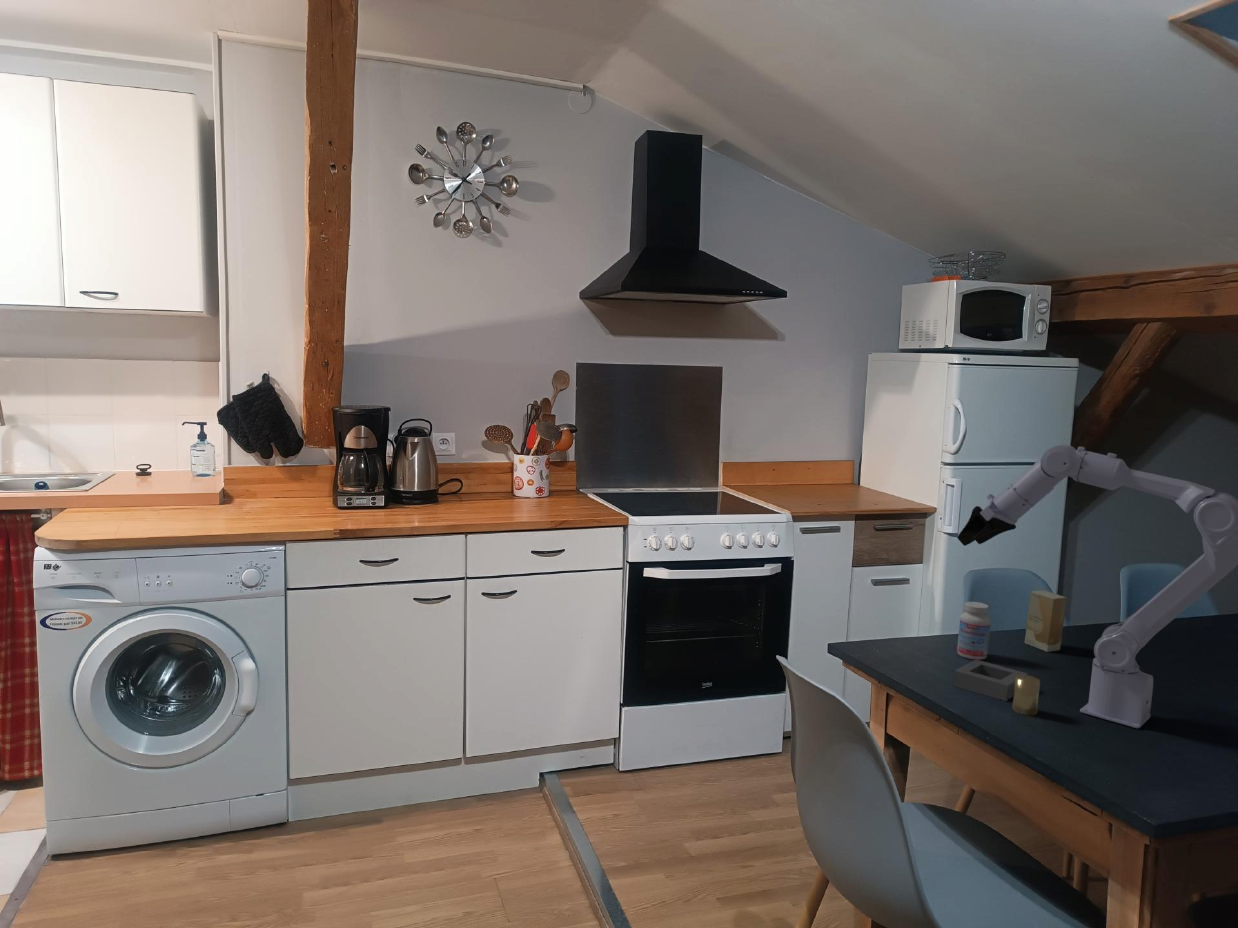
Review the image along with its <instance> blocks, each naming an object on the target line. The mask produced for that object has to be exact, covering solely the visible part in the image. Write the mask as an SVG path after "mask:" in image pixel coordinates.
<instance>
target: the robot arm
mask: <svg viewBox="0 0 1238 928" xmlns="http://www.w3.org/2000/svg"><path fill="white" fill-rule="evenodd" d="M1117 456H1118V455H1117V454H1116V453H1112V452H1108V453H1107V455H1105V454H1101V453H1099V452H1098V453H1097V452H1094V451H1089V450H1086V447H1084V446H1078V447H1077V449H1076V448H1075V447H1074V446H1073V445H1069V444H1059V445H1055V446H1051V447H1049V448H1048V449H1047V450H1046V451H1044V453H1043V454H1042V456H1041V458H1039V459H1038V460H1037V461H1035V462H1034V464H1033V465H1032V466H1029V467H1028V468H1026V469H1025V470H1024V471H1023V472H1022V473H1021V474H1020V475H1018V476H1017V477H1016V478H1015V479H1014V480H1013V481H1012V482H1010V483H1009V484H1008V485H1007V487H1005V488H1004V489H1003V490H1002V491H1001V492H1000V493H998V494H997V495H996V496H994V494H992V493H991V494H990V493H989V494H987V496H986V499H987V500H988V504H987V506H986V507H984V508H983V509H982V508H981V506H980V505H979V506H978V505H975V506H974V508H973V509H972V510H971V514H970V517H969V519H968V521H967V522H966V524H965V525H964V527H963V528H962V530H960V532H959V534H958V535H957V537H956V538H957V540H958V541H959V542H960V543H961V544H962V545H963V546H968V545H970V544H972V543H974V542H975V541H976V543H977V544H978V545H982V544H984V543H986V542H987V541H990V540H991V539H993V538H994V537H996V536H998V535H1000V534H1002V533H1005V532H1006V533H1007V532H1009V531H1013V530H1015V529H1016V528H1017V525H1016V523H1018V520H1019V519H1021V518H1022V517H1023V516H1024V515H1025V514H1027V512H1029V511H1030V510H1031V509H1032V508H1033V507H1034V506H1036V505H1037V504H1038V503H1039V502H1040V501H1041V500H1043V499H1044V498H1045V497H1046V496H1047V495H1049V494H1050V493H1051V492H1052V491H1053V490H1054V489H1055V487H1056V486H1057V485H1058V484H1059V483H1060V482H1062V481H1063V480H1064V479H1066V478H1068V477H1070V478H1071V479H1072V480H1074V481H1075V482H1079V483H1083V484H1086V485H1090V486H1093V487H1094V486H1095V487H1098V488H1101V489H1105V490H1110V491H1114V490H1115V491H1116V490H1117V489H1119V488H1122V487H1127V488H1130V489H1133V490H1137V491H1140V492H1144V493H1147V494H1152V495H1154V496H1157V497H1161V498H1165V499H1169V500H1172V501H1174V502H1175V503H1176V505H1177V506H1179V507H1180V509H1182V510H1183V512H1184V513H1185V514H1188V513H1189V512H1190V511H1191V510H1193V511H1194V512H1193V520H1194V523H1195V525H1196V528H1197V530H1198V532H1199V533H1200V535H1201V537H1202V548H1203V553H1202V554H1201V555H1200V556H1199V557H1198V558H1196V559H1195V560H1194V561H1193V562H1192V563H1191V564H1190V565H1188V567H1186V568H1185V569H1184V570H1183V571H1182V572H1180V573H1179V574H1178V575H1177V576H1176V577H1175V578H1174V579H1172V580H1171V581H1170V582H1169V583H1167V585H1166V586H1164V587H1163V588H1162V589H1161V590H1160V591H1158V593H1156V594H1155V595H1154V596H1153V597H1151V598H1150V599H1149V600H1148V601H1147V602H1145V604H1143V605H1142V606H1141V607H1140V608H1138V610H1136V611H1135V612H1134V613H1133V614H1131V615H1130V616H1128V617H1127V618H1126V619H1125V620H1123V621H1121V622H1119V623H1117V624H1112V625H1109V626H1108V627H1106V628H1105V629H1104V630H1103V632H1102V634H1101V637H1100V638H1098V639H1097V641H1096V642H1095V644H1094V647H1093V654H1094V656H1095V657H1094V658H1093V659H1092V669H1091V674H1090V675H1091V678H1090V684H1089V686H1090V687H1089V696H1088V702H1087V703H1086V704H1085V705H1084V706H1083V707H1081V708H1080V709H1079V712H1080V713H1082V714H1086V715H1090V716H1092V717H1097V718H1099V719H1103V720H1106V721H1110V722H1114V723H1118V724H1120V725H1125V726H1128V727H1131V728H1135V729H1140V728H1141V727H1142V726H1143V725H1144V724H1146V722H1147V721H1148V720H1149V719H1150V718H1151V708H1152V700H1153V699H1152V698H1153V691H1154V677H1153V675H1152V674H1148V673H1145V672H1143V671H1142V670H1140V666H1139V664H1138V663H1137V661H1136V657H1137V654H1138V653H1139V652H1140V650H1141V649H1142V648H1144V647H1145V645H1147V644H1148V643H1149V642H1150V641H1151V639H1152V638H1153V637H1155V635H1157V634H1158V633H1159V632H1160V631H1162V630H1163V629H1164V628H1165V627H1166V626H1167V625H1168V624H1170V623H1171V622H1172V621H1173V620H1175V619H1176V618H1177V617H1178V616H1179V615H1181V614H1182V613H1183V612H1184V611H1186V609H1188V608H1189V607H1190V606H1192V604H1194V603H1195V602H1196V601H1197V600H1198V599H1200V598H1201V597H1202V596H1203V595H1204V594H1206V592H1208V591H1210V589H1212V588H1213V587H1214V586H1215V585H1216V584H1217V583H1219V582H1220V581H1221V580H1223V578H1224V577H1226V576H1227V575H1228V574H1229V573H1230V572H1232V571H1233V570H1234V569H1235V568H1236V567H1237V566H1238V499H1237V498H1236V497H1234V495H1231V494H1228V493H1226V492H1216V490H1215V489H1213V488H1211V487H1209V486H1206V485H1202V484H1199V483H1195V482H1192V481H1188V480H1185V479H1179V478H1174V477H1169V476H1165V475H1160V474H1155V473H1151V472H1145V471H1141V470H1137V469H1131V468H1129V466H1128V465H1127V463H1126V462H1125V461H1124V459H1122V458H1118V457H1117Z"/></svg>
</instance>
